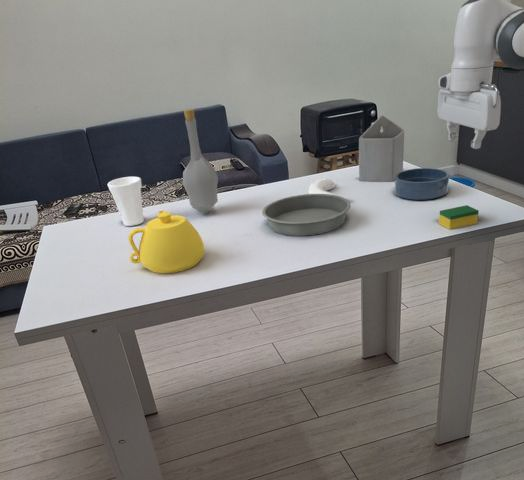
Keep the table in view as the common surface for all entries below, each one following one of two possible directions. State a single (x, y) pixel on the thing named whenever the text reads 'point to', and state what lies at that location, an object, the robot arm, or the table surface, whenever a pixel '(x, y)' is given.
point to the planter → (381, 151)
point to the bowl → (421, 183)
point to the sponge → (458, 217)
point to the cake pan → (306, 214)
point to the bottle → (199, 172)
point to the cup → (128, 199)
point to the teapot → (167, 244)
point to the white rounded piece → (321, 187)
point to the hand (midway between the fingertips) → (463, 144)
